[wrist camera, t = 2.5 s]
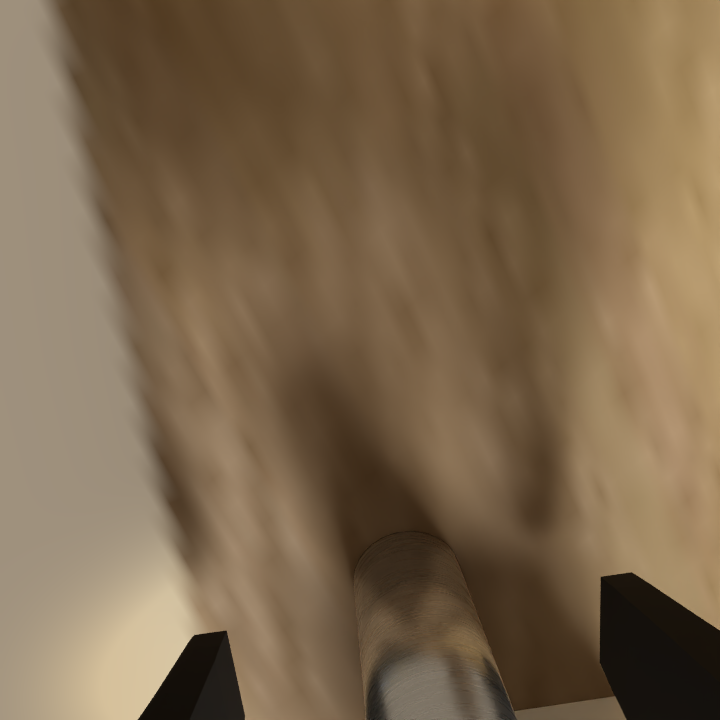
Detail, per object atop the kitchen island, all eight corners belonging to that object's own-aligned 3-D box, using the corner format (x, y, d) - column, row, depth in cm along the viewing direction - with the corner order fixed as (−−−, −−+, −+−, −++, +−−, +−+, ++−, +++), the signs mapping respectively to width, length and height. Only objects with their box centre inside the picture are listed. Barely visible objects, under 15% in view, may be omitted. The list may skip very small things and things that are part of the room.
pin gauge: (413, 511, 13) (472, 709, 8) (481, 579, 13) (574, 801, 8) (331, 577, 13) (338, 807, 8) (400, 641, 14) (446, 888, 9)
